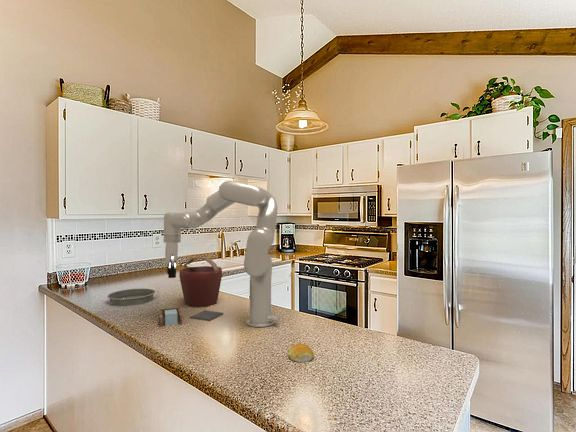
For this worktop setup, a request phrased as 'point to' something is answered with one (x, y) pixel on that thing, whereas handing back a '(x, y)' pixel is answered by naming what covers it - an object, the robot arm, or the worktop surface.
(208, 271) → the bucket
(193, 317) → the mat
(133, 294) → the cake pan
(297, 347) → the bread roll
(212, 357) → the worktop surface
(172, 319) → the block
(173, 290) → the worktop surface
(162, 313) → the shelf bay
